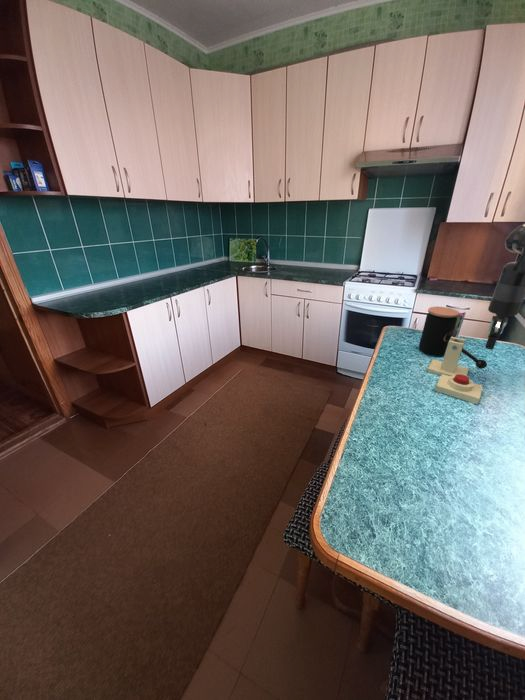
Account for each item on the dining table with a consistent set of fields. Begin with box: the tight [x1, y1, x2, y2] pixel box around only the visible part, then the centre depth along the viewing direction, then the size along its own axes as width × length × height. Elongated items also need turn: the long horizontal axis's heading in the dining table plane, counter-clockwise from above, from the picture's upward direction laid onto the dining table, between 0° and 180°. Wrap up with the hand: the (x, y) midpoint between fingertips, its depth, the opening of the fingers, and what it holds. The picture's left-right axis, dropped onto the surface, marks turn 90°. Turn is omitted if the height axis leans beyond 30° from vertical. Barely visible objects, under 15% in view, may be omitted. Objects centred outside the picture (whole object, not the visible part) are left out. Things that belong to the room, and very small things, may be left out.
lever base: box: [426, 337, 470, 377], centre depth 105 cm, size 12×9×13 cm
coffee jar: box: [418, 306, 459, 357], centre depth 118 cm, size 11×11×18 cm
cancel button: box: [454, 374, 471, 385], centre depth 95 cm, size 4×4×2 cm
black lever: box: [454, 339, 488, 370], centre depth 101 cm, size 13×3×3 cm, turn 52°
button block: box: [434, 374, 484, 405], centre depth 96 cm, size 12×9×4 cm
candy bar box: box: [436, 306, 466, 338], centre depth 123 cm, size 11×5×16 cm, turn 45°
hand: (489, 348), depth 97 cm, fingers closed
